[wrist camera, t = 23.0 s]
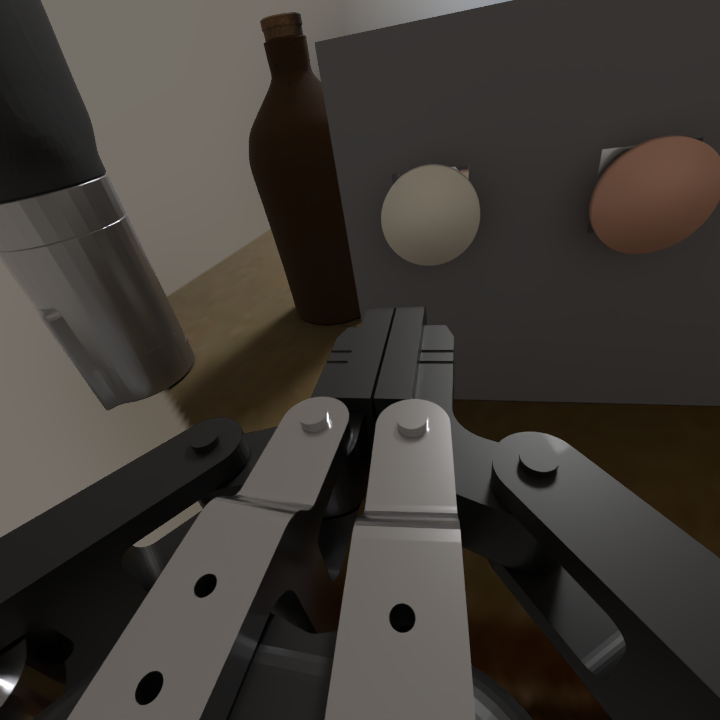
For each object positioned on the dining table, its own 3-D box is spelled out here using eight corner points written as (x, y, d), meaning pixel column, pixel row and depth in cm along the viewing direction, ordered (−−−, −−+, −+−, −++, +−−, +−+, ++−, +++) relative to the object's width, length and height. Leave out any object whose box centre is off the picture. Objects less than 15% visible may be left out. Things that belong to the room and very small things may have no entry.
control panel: (866, 409, 24) (1343, -176, 11) (374, 397, 31) (314, 42, 18) (786, 339, 29) (1035, -95, 17) (388, 343, 37) (350, 45, 24)
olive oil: (300, 339, 40) (209, 15, 25) (286, 297, 48) (211, 36, 34) (398, 311, 41) (366, -9, 27) (368, 275, 50) (330, 17, 35)
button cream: (478, 263, 21) (481, 160, 18) (386, 268, 22) (375, 173, 19) (475, 222, 26) (477, 137, 23) (400, 228, 27) (393, 148, 25)
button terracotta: (701, 250, 19) (745, 129, 16) (583, 257, 20) (604, 146, 17) (649, 208, 24) (675, 111, 21) (558, 216, 25) (570, 125, 22)
